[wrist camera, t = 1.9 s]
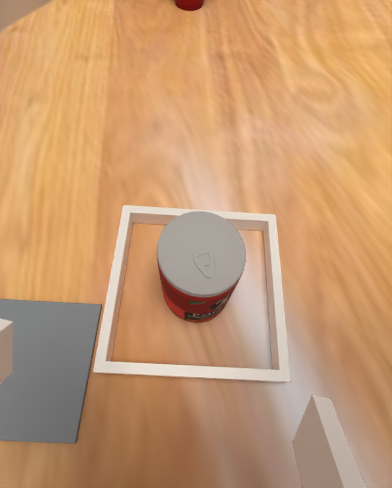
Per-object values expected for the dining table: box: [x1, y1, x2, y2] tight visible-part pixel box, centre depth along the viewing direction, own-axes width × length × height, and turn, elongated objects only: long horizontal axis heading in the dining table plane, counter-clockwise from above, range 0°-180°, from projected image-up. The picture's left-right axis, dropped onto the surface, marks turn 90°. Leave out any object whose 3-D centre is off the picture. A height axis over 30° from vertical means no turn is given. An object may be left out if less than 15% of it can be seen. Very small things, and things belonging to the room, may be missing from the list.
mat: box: [0, 299, 102, 444], centre depth 30 cm, size 13×13×1 cm
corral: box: [93, 205, 291, 382], centre depth 34 cm, size 19×19×2 cm
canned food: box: [157, 211, 246, 322], centre depth 30 cm, size 8×8×11 cm
